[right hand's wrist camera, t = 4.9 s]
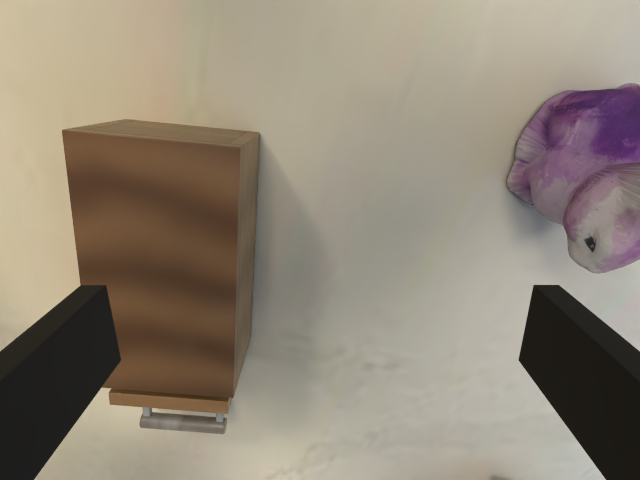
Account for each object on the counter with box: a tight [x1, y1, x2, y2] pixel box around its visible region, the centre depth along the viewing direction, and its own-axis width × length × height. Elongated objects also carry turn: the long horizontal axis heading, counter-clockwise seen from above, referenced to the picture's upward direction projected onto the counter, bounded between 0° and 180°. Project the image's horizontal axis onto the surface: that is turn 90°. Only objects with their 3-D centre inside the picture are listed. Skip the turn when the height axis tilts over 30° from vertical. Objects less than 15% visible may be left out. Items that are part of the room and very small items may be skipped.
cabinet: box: [62, 119, 260, 398], centre depth 32 cm, size 19×11×8 cm, turn 174°
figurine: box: [507, 83, 640, 273], centre depth 26 cm, size 9×10×15 cm
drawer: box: [109, 388, 232, 434], centre depth 34 cm, size 23×9×6 cm, turn 174°
